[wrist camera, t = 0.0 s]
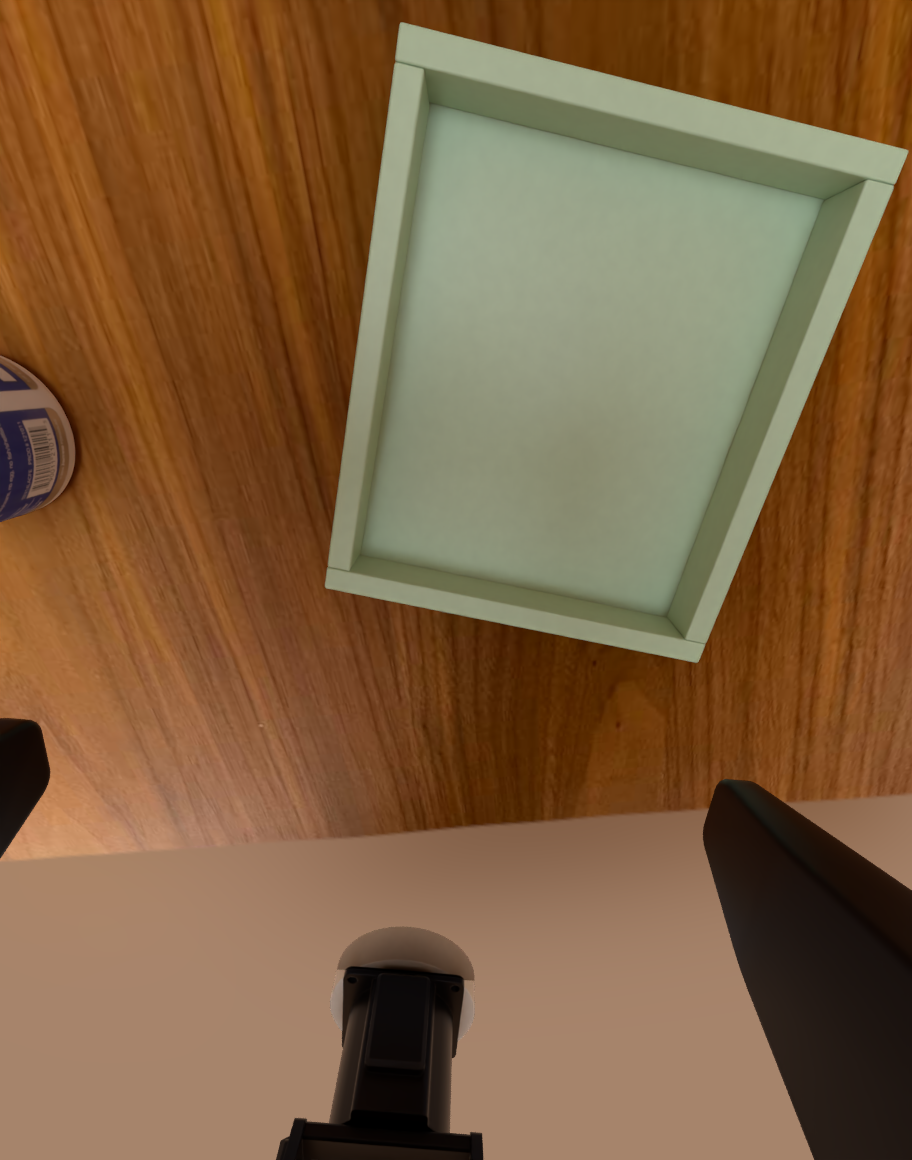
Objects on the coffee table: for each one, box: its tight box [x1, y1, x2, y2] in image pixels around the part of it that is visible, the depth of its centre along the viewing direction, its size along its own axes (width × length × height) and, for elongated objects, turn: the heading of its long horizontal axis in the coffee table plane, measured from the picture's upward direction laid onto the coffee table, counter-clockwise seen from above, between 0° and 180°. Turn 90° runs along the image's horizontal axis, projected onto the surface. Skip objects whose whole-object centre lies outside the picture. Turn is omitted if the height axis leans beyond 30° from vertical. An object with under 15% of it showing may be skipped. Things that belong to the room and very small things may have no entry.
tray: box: [325, 22, 908, 663], centre depth 18 cm, size 16×14×2 cm
